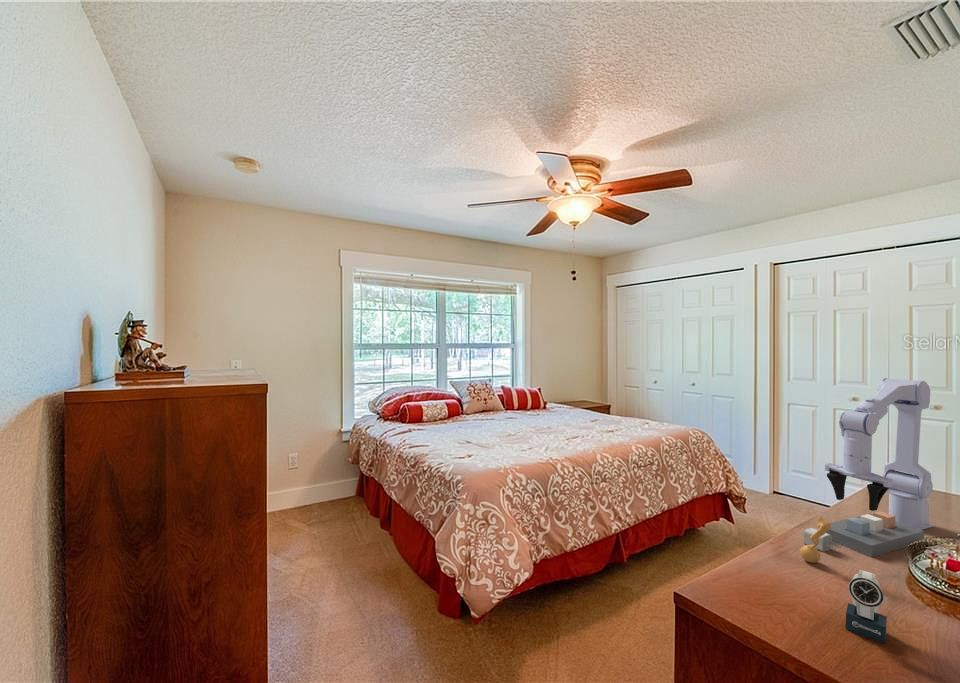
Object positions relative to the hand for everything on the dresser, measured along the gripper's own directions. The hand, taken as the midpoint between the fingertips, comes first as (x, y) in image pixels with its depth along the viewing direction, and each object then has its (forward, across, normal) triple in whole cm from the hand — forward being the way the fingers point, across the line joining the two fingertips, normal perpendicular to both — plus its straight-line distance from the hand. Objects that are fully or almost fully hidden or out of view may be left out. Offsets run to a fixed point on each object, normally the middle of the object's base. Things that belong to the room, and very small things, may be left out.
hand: (856, 504), depth 115 cm
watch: (+10, +23, -40) cm, 47 cm away
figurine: (+10, +4, -23) cm, 25 cm away
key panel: (+10, 0, +6) cm, 12 cm away
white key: (+8, 0, +6) cm, 10 cm away
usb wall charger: (+11, 0, -13) cm, 17 cm away
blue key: (+8, 0, 0) cm, 8 cm away
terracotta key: (+8, 0, +12) cm, 14 cm away
